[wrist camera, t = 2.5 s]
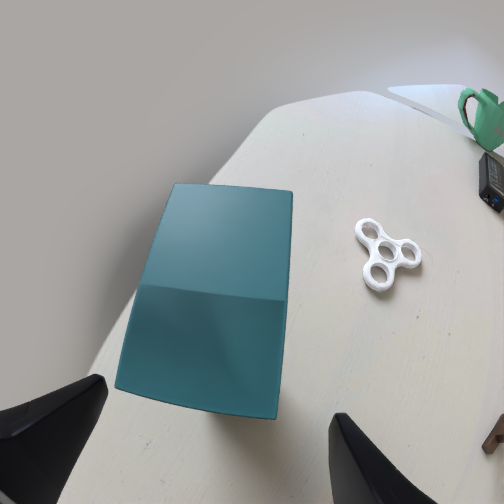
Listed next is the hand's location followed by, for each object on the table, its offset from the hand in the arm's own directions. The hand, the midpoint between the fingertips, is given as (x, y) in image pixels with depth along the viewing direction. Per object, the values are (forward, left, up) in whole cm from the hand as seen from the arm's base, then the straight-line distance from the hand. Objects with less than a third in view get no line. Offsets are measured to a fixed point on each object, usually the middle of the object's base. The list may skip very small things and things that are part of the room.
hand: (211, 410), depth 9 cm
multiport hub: (+32, -31, -9) cm, 45 cm away
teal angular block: (+4, 0, -9) cm, 10 cm away
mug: (+46, -34, -9) cm, 58 cm away
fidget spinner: (+14, -10, -9) cm, 19 cm away
